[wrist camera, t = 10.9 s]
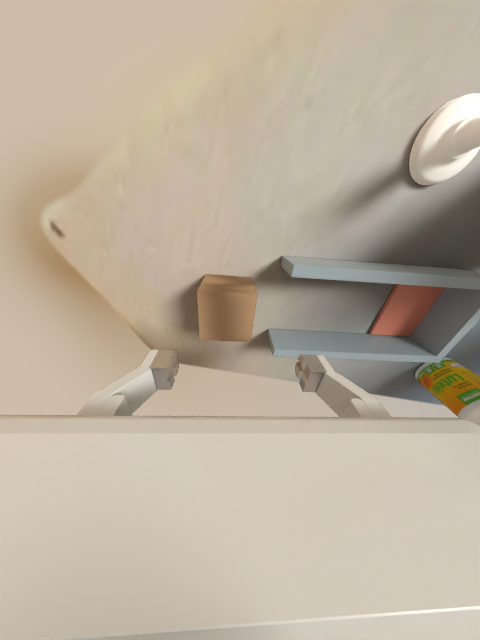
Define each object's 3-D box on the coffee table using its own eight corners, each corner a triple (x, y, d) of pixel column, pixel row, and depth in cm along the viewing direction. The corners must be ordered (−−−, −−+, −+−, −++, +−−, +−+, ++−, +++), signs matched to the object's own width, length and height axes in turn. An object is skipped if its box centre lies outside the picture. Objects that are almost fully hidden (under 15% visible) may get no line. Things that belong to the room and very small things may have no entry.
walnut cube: (252, 277, 18) (257, 295, 14) (247, 317, 21) (250, 342, 17) (206, 273, 18) (196, 290, 14) (207, 314, 21) (199, 339, 16)
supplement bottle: (433, 352, 25) (534, 421, 16) (460, 359, 26) (570, 428, 17) (405, 377, 27) (480, 446, 19) (431, 382, 28) (513, 451, 20)
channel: (463, 269, 18) (515, 280, 15) (409, 341, 23) (438, 362, 20) (282, 255, 17) (294, 264, 14) (267, 335, 22) (273, 356, 19)
